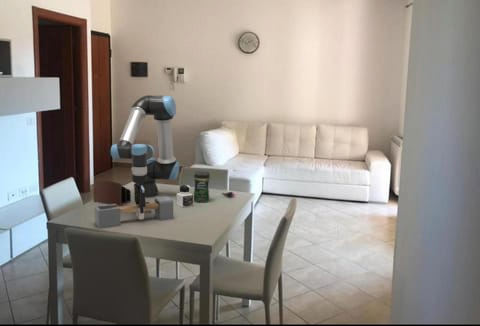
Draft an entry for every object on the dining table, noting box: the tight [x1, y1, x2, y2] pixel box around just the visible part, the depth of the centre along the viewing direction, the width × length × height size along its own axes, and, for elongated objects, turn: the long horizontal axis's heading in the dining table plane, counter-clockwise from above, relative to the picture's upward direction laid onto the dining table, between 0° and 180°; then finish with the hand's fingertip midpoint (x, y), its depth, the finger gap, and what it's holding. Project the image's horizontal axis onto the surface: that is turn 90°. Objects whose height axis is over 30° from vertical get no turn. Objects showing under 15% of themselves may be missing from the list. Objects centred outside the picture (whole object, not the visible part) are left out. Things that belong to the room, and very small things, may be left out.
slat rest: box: [144, 201, 152, 214], centre depth 252 cm, size 5×23×5 cm, turn 119°
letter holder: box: [93, 179, 132, 207], centre depth 274 cm, size 10×20×14 cm, turn 68°
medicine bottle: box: [176, 184, 194, 209], centre depth 271 cm, size 7×7×12 cm
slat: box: [112, 202, 159, 215], centre depth 241 cm, size 4×28×2 cm, turn 119°
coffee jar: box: [193, 170, 211, 203], centre depth 281 cm, size 10×8×19 cm
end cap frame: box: [94, 196, 174, 229], centre depth 240 cm, size 9×39×10 cm, turn 119°
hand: (140, 217), depth 242 cm, fingers closed on slat, 4 cm apart
